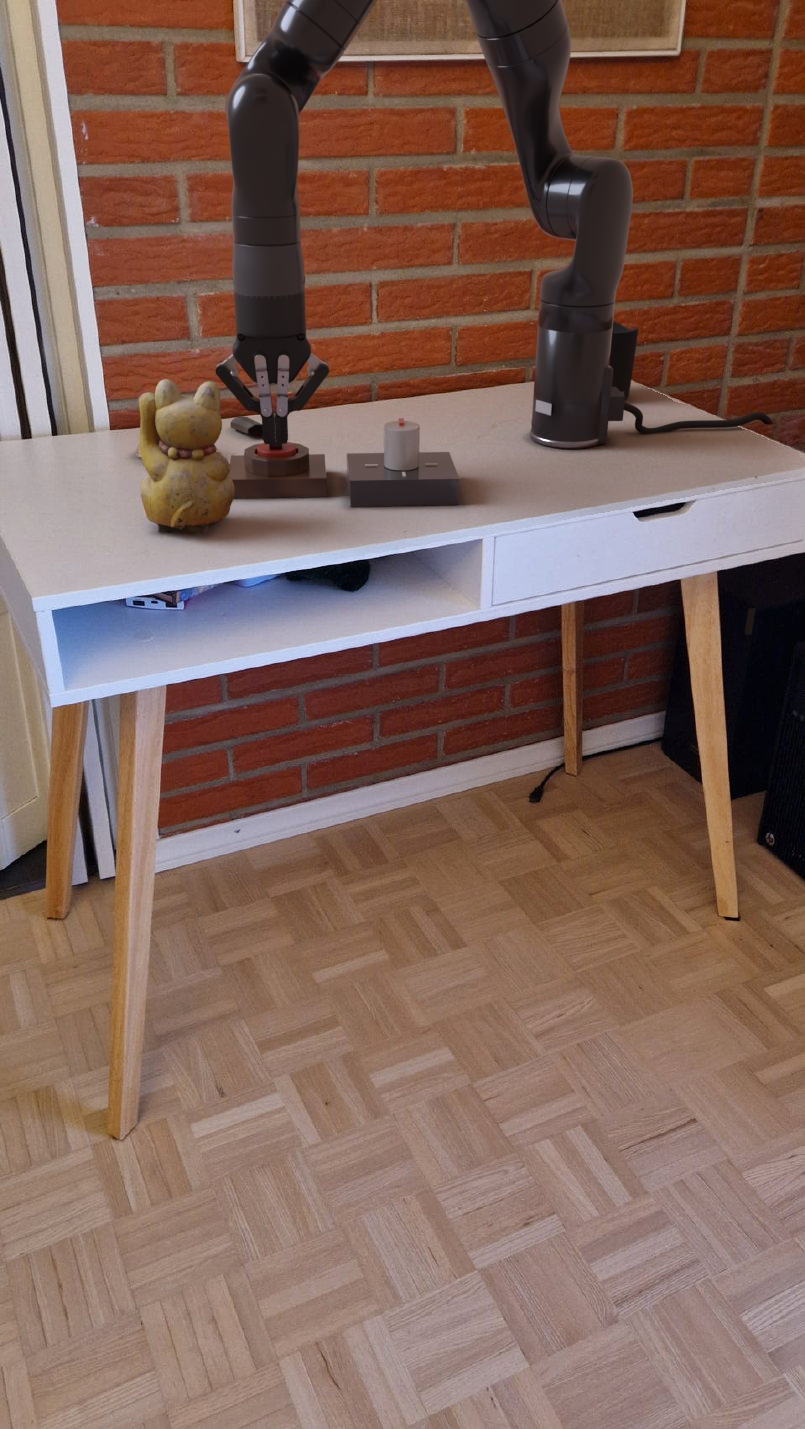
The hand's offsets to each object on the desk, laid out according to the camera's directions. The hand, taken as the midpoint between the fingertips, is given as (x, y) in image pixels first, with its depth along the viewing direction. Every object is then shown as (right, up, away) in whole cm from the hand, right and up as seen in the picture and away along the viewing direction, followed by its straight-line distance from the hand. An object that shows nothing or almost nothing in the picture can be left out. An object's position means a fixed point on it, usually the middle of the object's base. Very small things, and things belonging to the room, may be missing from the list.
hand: (276, 447), depth 134 cm
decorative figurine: (-8, -11, -10) cm, 17 cm away
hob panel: (+14, -5, +1) cm, 15 cm away
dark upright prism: (+43, +16, +38) cm, 60 cm away
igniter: (0, -4, +2) cm, 5 cm away
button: (0, -1, +1) cm, 2 cm away
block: (-6, +6, +21) cm, 23 cm away
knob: (+14, -2, -1) cm, 14 cm away
